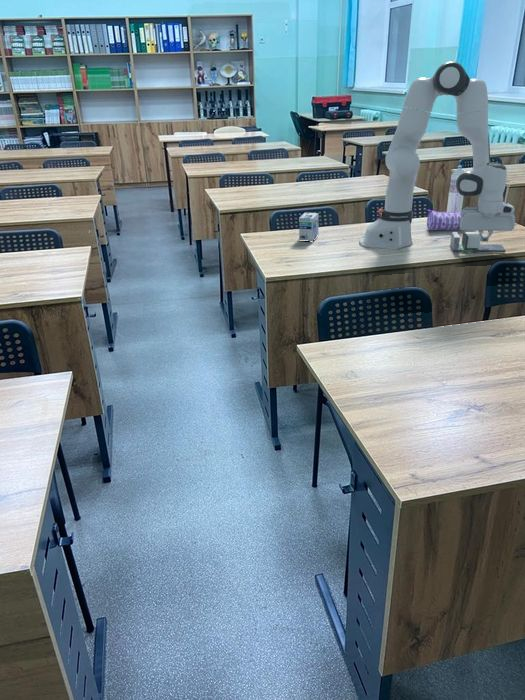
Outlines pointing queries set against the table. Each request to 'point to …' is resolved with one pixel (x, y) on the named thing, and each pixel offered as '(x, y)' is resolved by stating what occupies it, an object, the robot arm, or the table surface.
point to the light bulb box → (308, 226)
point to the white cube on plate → (471, 239)
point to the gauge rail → (482, 248)
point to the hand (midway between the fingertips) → (484, 241)
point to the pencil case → (444, 220)
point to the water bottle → (455, 193)
